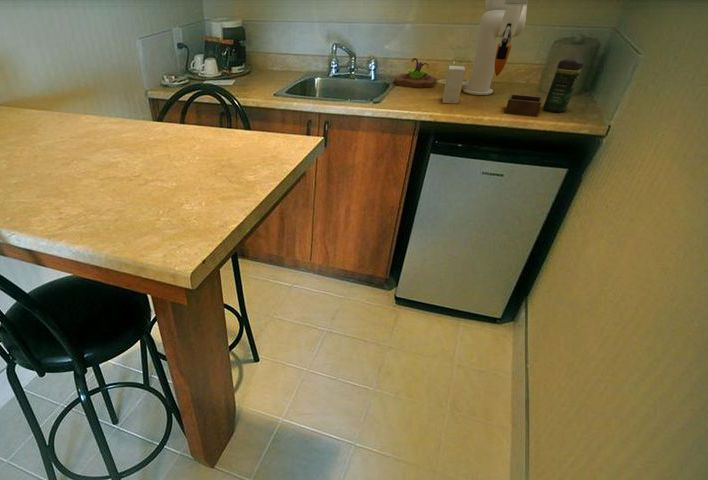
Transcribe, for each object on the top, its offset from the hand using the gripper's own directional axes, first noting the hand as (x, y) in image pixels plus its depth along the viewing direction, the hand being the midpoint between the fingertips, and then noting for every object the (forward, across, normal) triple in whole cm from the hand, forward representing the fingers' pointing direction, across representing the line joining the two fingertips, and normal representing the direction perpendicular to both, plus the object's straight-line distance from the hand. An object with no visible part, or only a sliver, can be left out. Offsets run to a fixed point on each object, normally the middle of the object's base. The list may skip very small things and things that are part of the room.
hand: (501, 57), depth 155 cm
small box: (+18, -4, -16) cm, 25 cm away
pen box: (+18, 0, +12) cm, 22 cm away
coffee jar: (+18, -8, +24) cm, 31 cm away
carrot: (+7, 0, 0) cm, 7 cm away
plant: (+18, -32, -39) cm, 54 cm away
